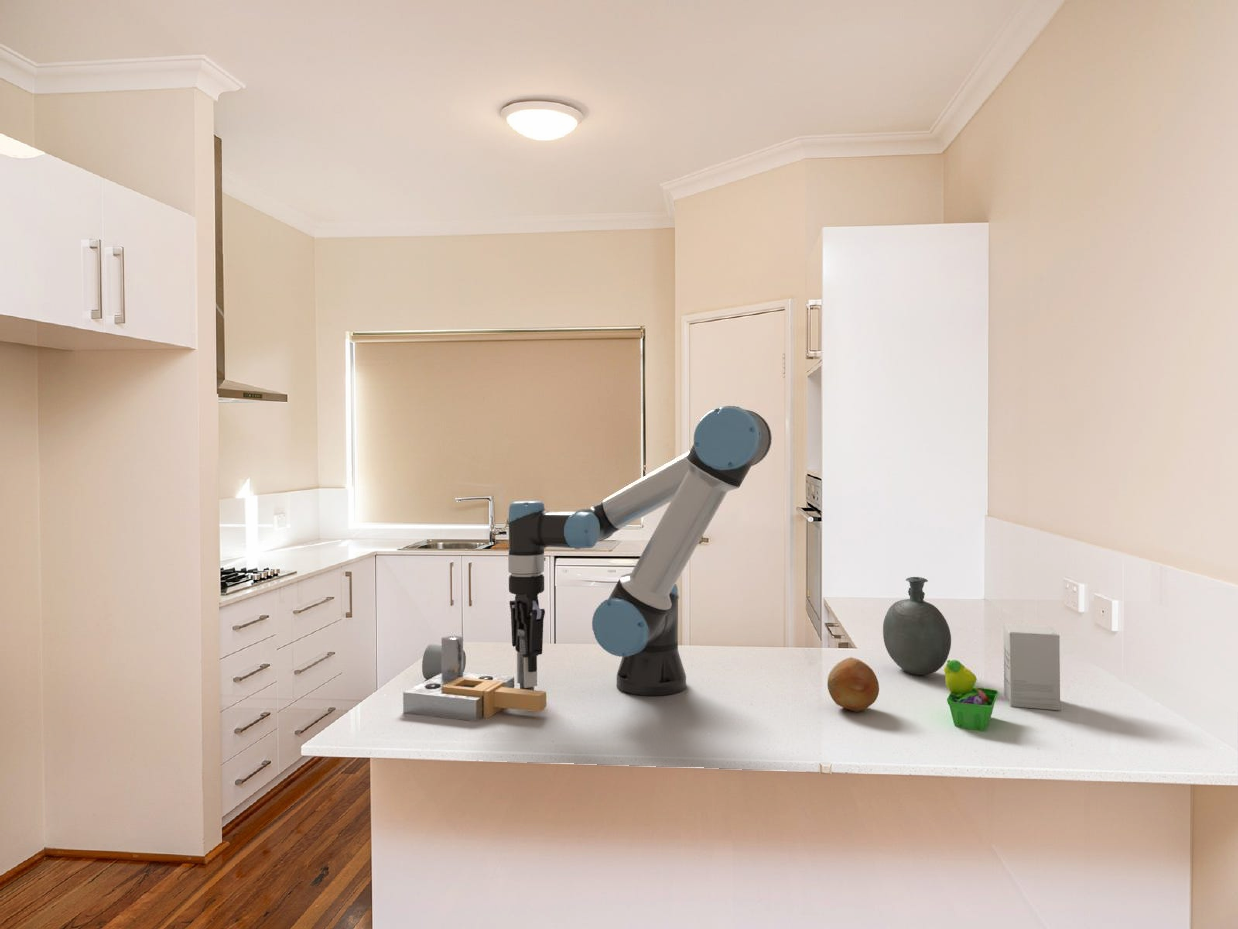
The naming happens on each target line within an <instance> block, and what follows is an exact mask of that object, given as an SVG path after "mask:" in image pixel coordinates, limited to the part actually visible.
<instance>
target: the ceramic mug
mask: <svg viewBox="0 0 1238 929" xmlns="http://www.w3.org/2000/svg"><path fill="white" fill-rule="evenodd" d="M421 662H422V664H421V672H422V676H423V678H424V679H425V680H429V679H431V678H433V677H435V676H437V675H439V674H441V673H442V644H434V643H429V644H428V645H427V646H426V648H425V650H424V652H423V656H422V661H421ZM466 663H467V657H466V652H465V650H464V649H463V672H465V669H466V666H467V665H466Z"/></svg>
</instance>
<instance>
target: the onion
mask: <svg viewBox="0 0 1238 929" xmlns="http://www.w3.org/2000/svg"><path fill="white" fill-rule="evenodd" d="M827 690H828V693H829V695H830V697H831V699H832V700H833V702H834V703H835V704H836V705H837V706H839V707H841V708H843V709H846V710H849V711H852V712H855V713H857V712H858V713H859V712H862V711H864V710H866V709H868V708H869V707H870V706H871V705H873V704H874V703H875V702H876V701H877V698H878V696H879V692H880V684H879V680H878V677H877V675H876V673H875V671H874V670H873V669H872V668H871V666H869V665H868V664H867V663H865V662H863V661H862V660H861V659H859V658H855V657H848V658H845V659H842V660H841V661H839V662H837V663H836V665H834V666H833V668H832V669H831V670H830V672H829V674H828V676H827Z"/></svg>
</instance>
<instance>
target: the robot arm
mask: <svg viewBox="0 0 1238 929" xmlns="http://www.w3.org/2000/svg"><path fill="white" fill-rule="evenodd" d="M772 437H773V436H772V431H771V428H770V426H769V424H768V422H767V421H766V420H765V418H763V417H762V415H760V414H759V413H758V412H755V411H753V410H749V409H746V408H745V409H744V408H742V407H740V406H735V405H734V406H733V405H726V406H721V407H716V408H714V409H712V410H710V411H708V412H706V414H705V415H703V417H701V419H700V420H699V421H698V423H697V425H696V427H695V429H694V433H693V444H692V446H691V448H690V450H688V451H686V452H685V453H684V454H681V455H679V456H678V457H676V458H674V459H673V460H671V461H669V462H668V463H665V464H664V465H662V466H661V467H659V468H657V469H655V470H653V471H652V472H649V473H648V474H647V475H644V476H643V477H640V478H639V479H638V480H636V481H634V482H632V483H630V484H629V485H627V486H625V487H623V488H622V489H620V490H618V491H617V492H614V493H612V494H611V495H610V496H607V497H606V498H604V499H603V500H600V501H598V502H597V503H595V504H593V505H592V506H590V507H587V508H582V509H576V510H569V511H565V510H564V511H559V510H558V511H552V510H551V511H550V510H545V509H546V508H545V503H544V502H543V501H539V500H519V501H512V502H511V503H510V504H509V508H508V519H507V525H508V556H507V558H508V559H507V560H508V563H507V565H508V567H507V568H508V569H507V571H508V573H509V574H510V575H509V576H508V592H509V593H510V594H513V595H515V596H514V599H513V600H509V603H508V604H509V609H510V621H511V622H510V623H511V625H510V626H511V644H512V645H511V646H512V647H515V648H514V649H515V652H516V683H517V684H519V685H520V636H518V629H520V628H524V634H525V650H526V654H522V655H523V657H524V687H525V688H528V687H534V688H535V687H538V656H539V655H543V642H544V640H543V638H544V637H543V636H544V620H545V619H544V618H545V615H546V611H545V608H541V607H540V604H539V596H538V595H539V594H542V593H543V592H544V591H545V576H544V574H543V573H544V571H545V561H546V557H545V548H548V547H549V548H550V547H551V548H566V549H575V550H580V549H592V548H594V547H595V546H596V544H597V543H598V542H603V541H605V540H607V539H608V538H610V537H612V536H613V535H614V534H615V533H616V532H618V531H620V530H621V529H623V528H625V527H627V526H628V525H631V524H632V523H634V522H635V521H638V520H640V519H642V518H644V517H645V516H647V515H649V514H651V513H653V512H655V511H656V510H658V509H659V508H662V507H663V506H665V505H667V504H668V506H667V508H666V509H665V511H664V514H663V515H662V517H661V519H660V520H659V522H658V525H657V526H656V528H655V530H654V531H653V533H652V535H651V537H650V539H649V540H648V543H647V544H646V546H645V548H644V550H643V552H642V553H641V555H640V557H639V558H638V560H637V562H636V563H635V565H634V567H633V569H632V572H630V573H625V574H623V575H621V576H620V577H619V579H618V581H617V583H616V584H615V587H614V588H613V590H612V592H611V593H610V595H609V597H608V598H607V599H605V600H603V601H602V602H601V603H600V604H599V605H598V606H597V607H596V609H595V610H594V612H593V616H592V619H591V620H592V622H591V626H592V628H591V629H592V631H593V635H594V638H595V640H596V642H597V643H598V645H599V646H600V647H601V648H602V650H604V651H605V652H607V653H608V654H610V655H612V656H614V657H615V656H616V657H620V658H621V660H620V664H619V666H618V669H617V673H616V687H617V688H618V689H619V690H621V691H622V692H626V693H628V694H632V695H637V696H638V695H639V696H666V695H672V694H673V695H674V694H676V693H679V692H682V691H683V690H685V689H686V687H687V675H686V672H685V669H684V668H685V667H684V665H683V662H682V659H681V655H680V653H679V599H680V598H679V596H680V595H679V593H678V591H679V590H678V585H677V581H678V580H679V578H680V576H681V575H682V573H683V571H684V569H685V568H686V566H687V564H688V562H689V560H690V558H691V556H692V555H693V553H694V551H695V550H696V548H697V546H698V544H699V542H700V541H701V539H702V538H703V535H704V534H705V533H706V530H707V528H708V527H709V526H710V523H711V522H712V520H713V518H714V516H715V515H716V513H717V512H718V510H719V508H720V506H721V504H722V502H723V500H724V498H725V497H726V495H727V493H729V492H730V491H733V490H737V489H739V488H740V487H741V485H742V483H743V481H744V480H745V478H746V476H747V475H748V473H749V471H750V469H751V468H752V467H754V466H755V465H758V464H759V463H761V461H763V460H764V459H765V458H766V456H767V455H768V453H769V451H770V449H771V445H772V441H773V440H772V439H773V438H772Z"/></svg>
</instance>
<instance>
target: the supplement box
mask: <svg viewBox="0 0 1238 929" xmlns="http://www.w3.org/2000/svg"><path fill="white" fill-rule="evenodd" d="M1060 637H1061V636H1060V634H1058V633H1057V632H1056V630H1054V628H1053V627H1052V626H1051V625H1050V626H1049V625H1038V624H1037V625H1036V624H1017V623H1016V624H1015V623H1003V694H1004V696H1005V698H1006V700H1007V702H1008V704H1009V705H1010V707H1013V708H1015V707H1016V708H1029V709H1038V710H1050V711H1051V710H1052V711H1061V672H1060V671H1061V668H1060V667H1061V666H1060V662H1061V656H1060V653H1061V651H1060V643H1061V642H1060V640H1061V639H1060Z"/></svg>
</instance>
